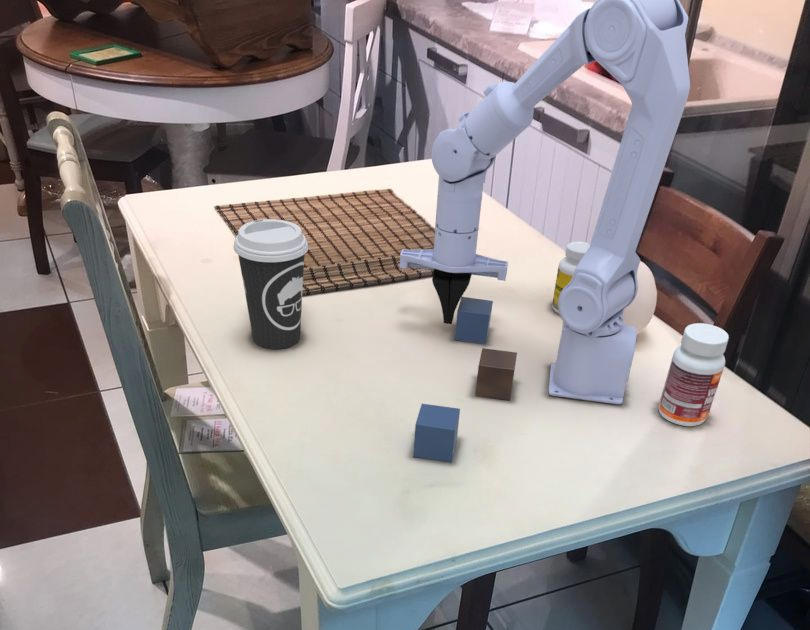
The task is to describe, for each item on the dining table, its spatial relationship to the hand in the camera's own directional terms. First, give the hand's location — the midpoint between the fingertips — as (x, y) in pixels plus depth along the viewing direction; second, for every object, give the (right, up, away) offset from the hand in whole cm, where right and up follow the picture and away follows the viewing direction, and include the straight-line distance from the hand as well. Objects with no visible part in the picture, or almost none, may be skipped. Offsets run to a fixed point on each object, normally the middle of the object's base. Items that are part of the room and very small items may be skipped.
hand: (448, 320), depth 118 cm
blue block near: (-3, -20, -21) cm, 29 cm away
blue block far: (+3, -2, +1) cm, 4 cm away
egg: (+24, -2, +3) cm, 25 cm away
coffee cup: (-24, -3, -2) cm, 24 cm away
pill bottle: (+29, -15, -12) cm, 35 cm away
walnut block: (+5, -12, -10) cm, 16 cm away
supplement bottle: (+19, +4, +8) cm, 21 cm away
